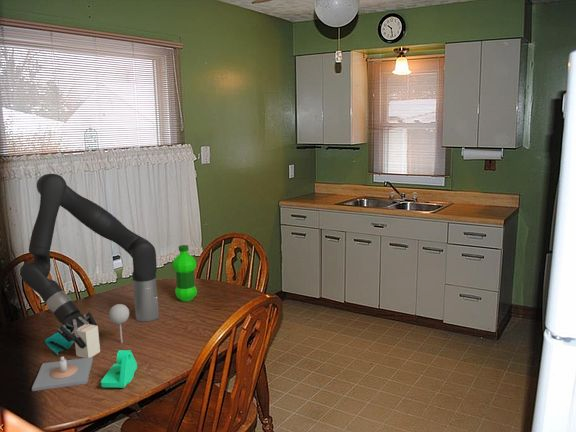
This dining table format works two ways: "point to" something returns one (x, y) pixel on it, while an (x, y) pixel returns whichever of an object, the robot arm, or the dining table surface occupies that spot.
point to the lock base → (63, 373)
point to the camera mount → (120, 370)
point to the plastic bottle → (185, 274)
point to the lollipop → (119, 315)
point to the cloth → (58, 342)
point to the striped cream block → (88, 341)
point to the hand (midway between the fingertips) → (91, 343)
